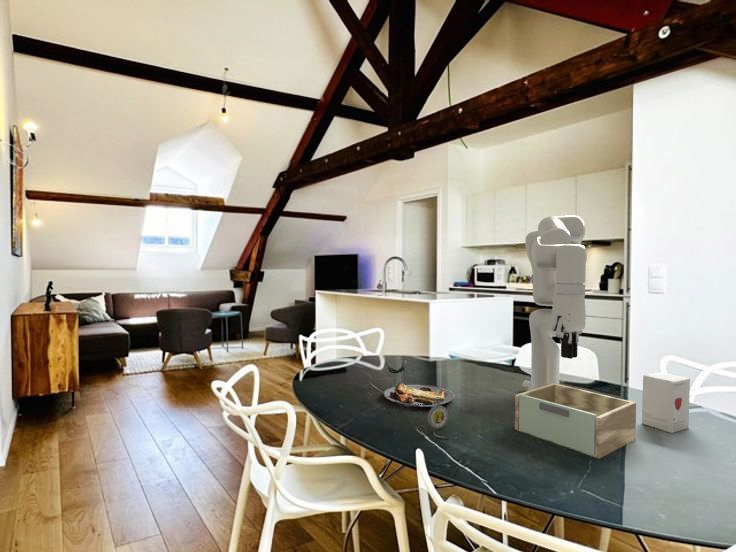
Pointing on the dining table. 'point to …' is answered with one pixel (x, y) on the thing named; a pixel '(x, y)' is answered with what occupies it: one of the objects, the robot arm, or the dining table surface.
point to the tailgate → (558, 423)
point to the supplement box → (666, 401)
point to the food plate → (418, 395)
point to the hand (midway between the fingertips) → (569, 356)
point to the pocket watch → (435, 414)
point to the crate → (611, 413)
